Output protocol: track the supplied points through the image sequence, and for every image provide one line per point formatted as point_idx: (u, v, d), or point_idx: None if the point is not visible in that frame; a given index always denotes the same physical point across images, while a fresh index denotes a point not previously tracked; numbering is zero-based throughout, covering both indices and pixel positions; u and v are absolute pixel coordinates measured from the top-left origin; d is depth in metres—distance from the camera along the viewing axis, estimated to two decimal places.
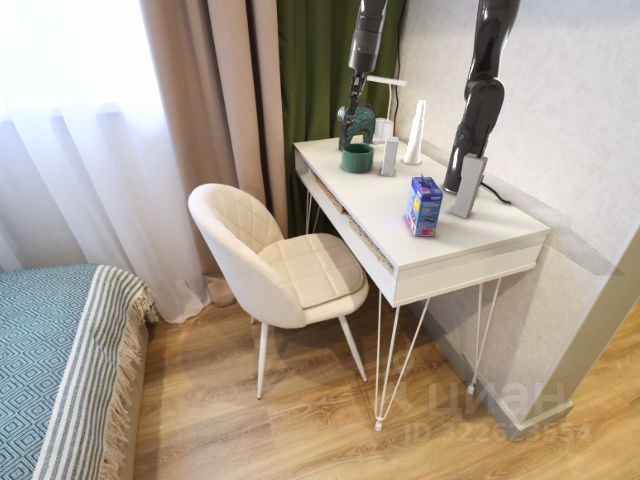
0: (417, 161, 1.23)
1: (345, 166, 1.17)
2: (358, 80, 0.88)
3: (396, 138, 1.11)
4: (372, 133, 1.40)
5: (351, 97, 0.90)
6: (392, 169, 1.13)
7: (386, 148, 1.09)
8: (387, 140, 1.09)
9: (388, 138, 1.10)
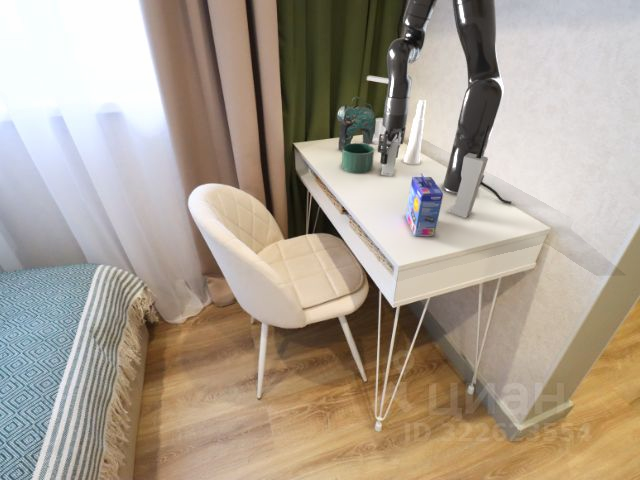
0: (417, 161, 1.23)
1: (345, 166, 1.17)
2: (383, 137, 1.05)
3: None
4: (372, 133, 1.40)
5: (379, 150, 1.08)
6: (392, 169, 1.13)
7: (386, 148, 1.09)
8: None
9: None
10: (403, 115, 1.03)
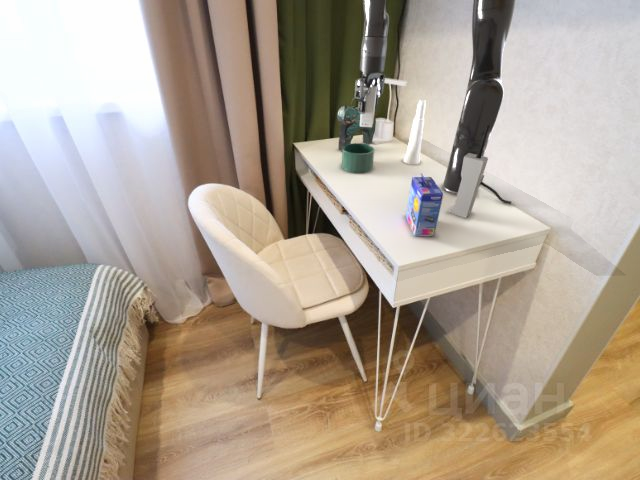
0: (417, 161, 1.23)
1: (345, 166, 1.17)
2: (360, 81, 0.99)
3: None
4: (372, 133, 1.40)
5: (356, 97, 1.02)
6: (371, 119, 1.07)
7: None
8: None
9: None
10: (380, 57, 0.97)
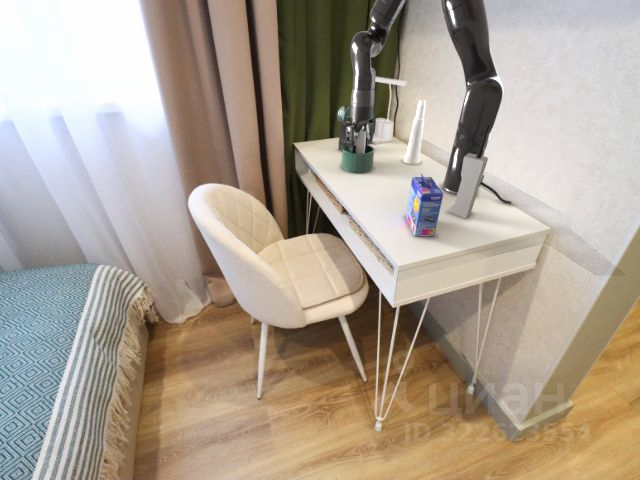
0: (417, 161, 1.23)
1: (345, 166, 1.17)
2: (350, 129, 1.07)
3: None
4: None
5: (347, 141, 1.11)
6: None
7: (354, 139, 1.12)
8: None
9: None
10: (368, 107, 1.06)
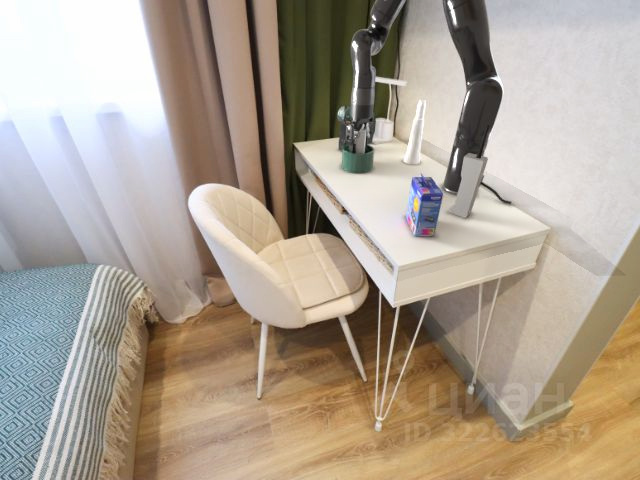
0: (417, 161, 1.23)
1: (345, 166, 1.17)
2: (350, 127, 1.07)
3: None
4: (372, 133, 1.40)
5: (347, 140, 1.10)
6: None
7: (354, 138, 1.12)
8: None
9: None
10: (368, 105, 1.05)
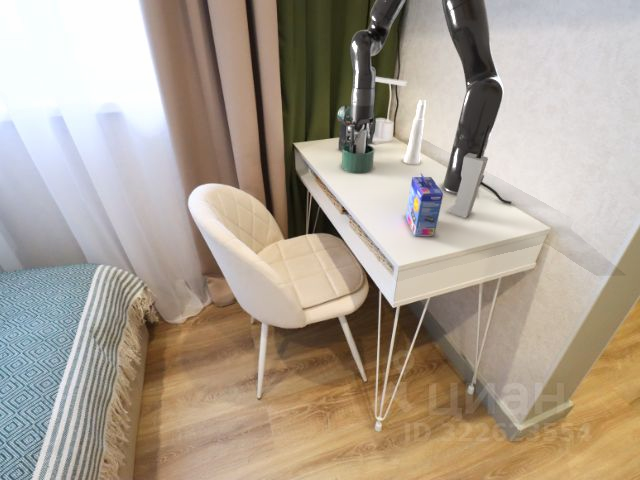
0: (417, 161, 1.23)
1: (345, 166, 1.17)
2: (350, 128, 1.07)
3: None
4: None
5: (347, 140, 1.10)
6: None
7: (354, 139, 1.12)
8: None
9: None
10: (369, 106, 1.05)
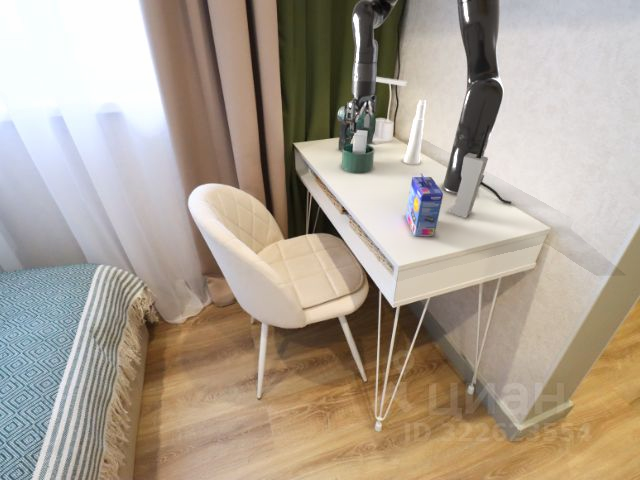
0: (417, 161, 1.23)
1: (345, 166, 1.17)
2: (351, 104, 1.03)
3: (365, 132, 1.14)
4: (372, 133, 1.40)
5: (348, 118, 1.06)
6: None
7: (355, 141, 1.13)
8: (355, 133, 1.12)
9: (357, 132, 1.14)
10: (371, 81, 1.01)
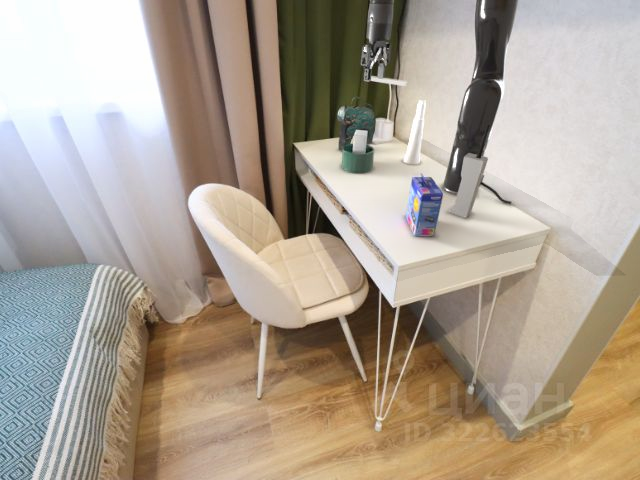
0: (417, 161, 1.23)
1: (345, 166, 1.17)
2: (367, 47, 1.00)
3: (365, 132, 1.14)
4: (372, 133, 1.40)
5: (362, 64, 1.03)
6: None
7: (355, 141, 1.13)
8: (355, 133, 1.12)
9: (357, 132, 1.14)
10: (387, 24, 0.99)
